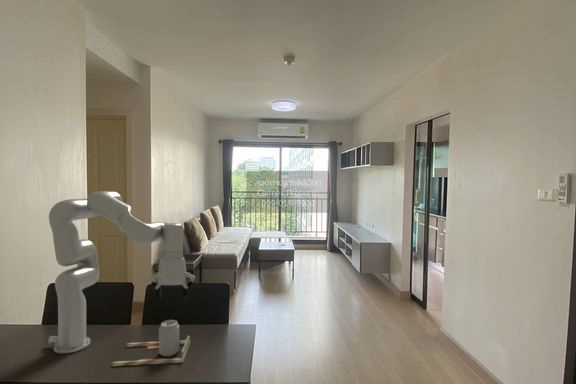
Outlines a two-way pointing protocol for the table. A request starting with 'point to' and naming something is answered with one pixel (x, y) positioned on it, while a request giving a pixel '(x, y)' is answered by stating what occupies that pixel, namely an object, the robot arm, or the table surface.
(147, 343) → the tan bent flat bar
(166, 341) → the can
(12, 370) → the table surface
